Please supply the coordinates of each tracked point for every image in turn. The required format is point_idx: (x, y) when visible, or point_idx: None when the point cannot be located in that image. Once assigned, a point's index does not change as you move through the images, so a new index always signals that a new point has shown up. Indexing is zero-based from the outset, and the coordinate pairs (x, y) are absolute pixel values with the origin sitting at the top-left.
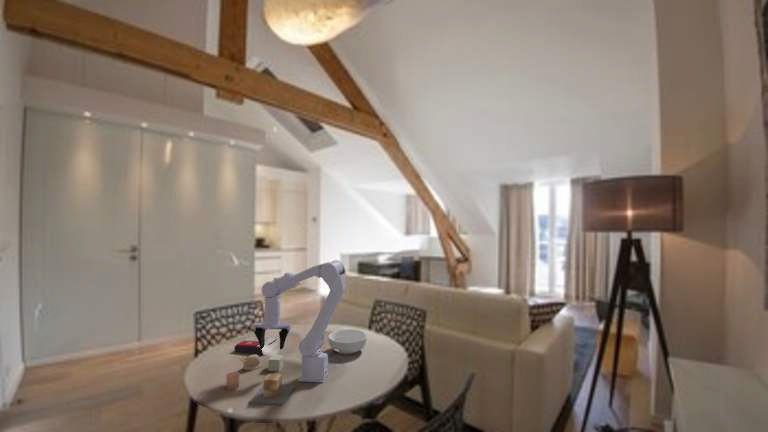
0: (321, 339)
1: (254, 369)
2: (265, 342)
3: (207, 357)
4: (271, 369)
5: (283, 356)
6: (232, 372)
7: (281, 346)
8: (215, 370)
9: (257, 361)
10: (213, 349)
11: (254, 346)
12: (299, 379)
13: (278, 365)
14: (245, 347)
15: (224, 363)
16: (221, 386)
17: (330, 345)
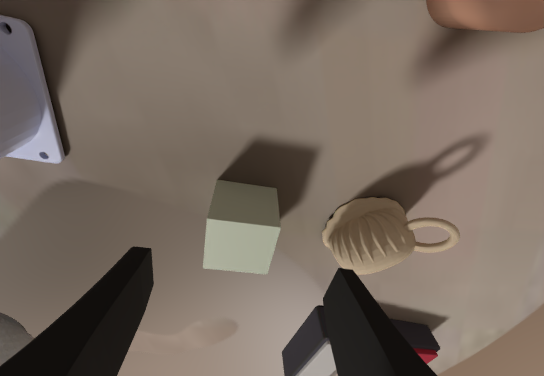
0: None
1: (346, 204)
2: (327, 366)
3: (525, 298)
4: (259, 189)
5: (204, 262)
6: (542, 20)
7: (112, 269)
8: (521, 206)
9: (342, 236)
10: (494, 339)
11: None
12: (14, 31)
13: (217, 197)
14: None
15: (473, 258)
16: None
17: (11, 347)
